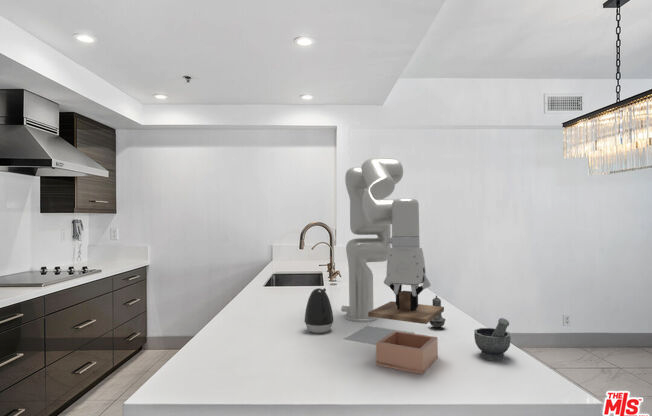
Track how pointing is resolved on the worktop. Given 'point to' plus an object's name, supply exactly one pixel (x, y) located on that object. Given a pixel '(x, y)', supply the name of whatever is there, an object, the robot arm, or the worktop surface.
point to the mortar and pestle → (493, 341)
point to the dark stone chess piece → (438, 320)
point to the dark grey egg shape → (318, 312)
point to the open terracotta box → (407, 351)
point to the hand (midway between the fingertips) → (407, 308)
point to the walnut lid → (406, 310)
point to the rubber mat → (370, 334)
